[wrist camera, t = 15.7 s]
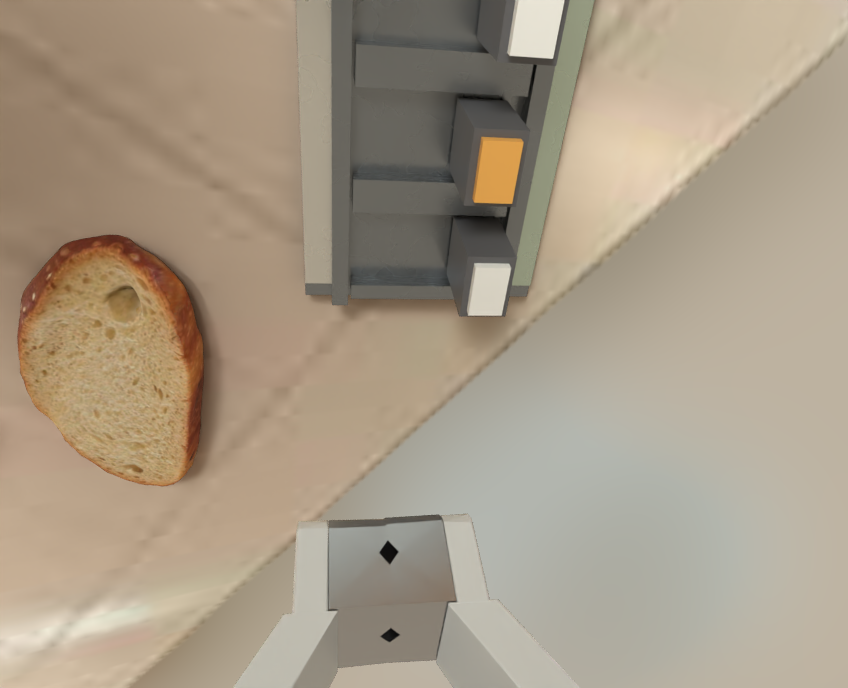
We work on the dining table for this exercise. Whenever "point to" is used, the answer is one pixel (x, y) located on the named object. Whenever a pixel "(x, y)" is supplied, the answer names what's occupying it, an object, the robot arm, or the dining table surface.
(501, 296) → the breaker
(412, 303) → the dining table surface
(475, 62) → the panel
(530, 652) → the robot arm
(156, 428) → the slice of bread
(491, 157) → the breaker mid
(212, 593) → the dining table surface
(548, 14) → the breaker
